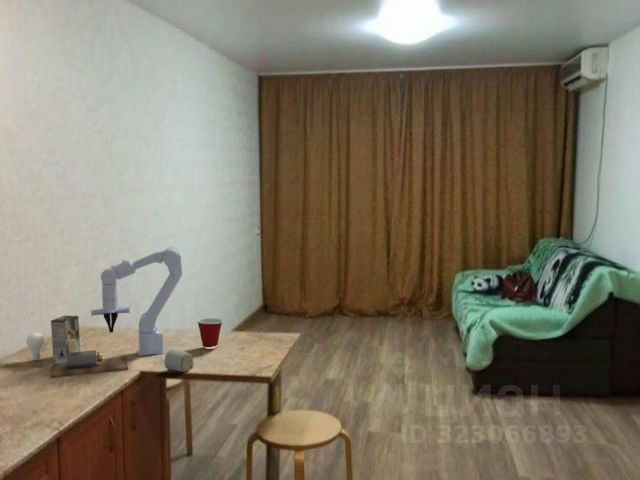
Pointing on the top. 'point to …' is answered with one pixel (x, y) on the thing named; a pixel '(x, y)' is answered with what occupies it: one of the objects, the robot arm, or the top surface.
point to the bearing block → (81, 360)
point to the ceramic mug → (178, 360)
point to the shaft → (64, 360)
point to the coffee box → (65, 336)
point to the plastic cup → (209, 331)
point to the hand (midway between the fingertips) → (111, 331)
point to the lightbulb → (35, 344)
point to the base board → (103, 366)
